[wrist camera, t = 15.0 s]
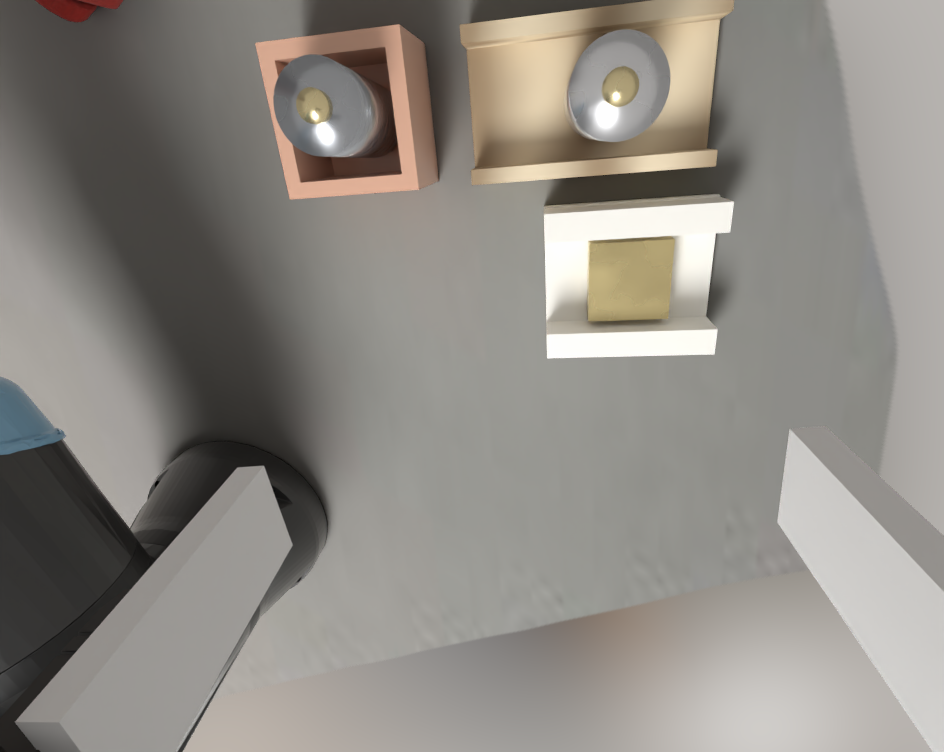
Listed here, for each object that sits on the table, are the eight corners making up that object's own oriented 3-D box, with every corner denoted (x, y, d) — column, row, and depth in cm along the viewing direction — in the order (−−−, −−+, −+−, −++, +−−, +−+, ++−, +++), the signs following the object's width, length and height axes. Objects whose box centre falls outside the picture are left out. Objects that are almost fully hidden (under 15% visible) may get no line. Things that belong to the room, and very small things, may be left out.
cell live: (563, 143, 29) (570, 146, 21) (562, 62, 27) (568, 34, 20) (636, 136, 28) (670, 136, 21) (639, 52, 27) (677, 19, 19)
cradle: (547, 342, 35) (547, 359, 32) (544, 205, 31) (543, 212, 28) (700, 337, 33) (714, 355, 31) (717, 193, 30) (734, 199, 27)
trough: (477, 181, 31) (472, 185, 29) (466, 33, 28) (459, 24, 25) (702, 163, 29) (715, 166, 27) (718, 2, 26) (735, -11, 23)
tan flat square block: (586, 315, 33) (588, 321, 32) (587, 240, 31) (589, 244, 30) (664, 312, 32) (668, 318, 31) (670, 235, 30) (674, 239, 29)
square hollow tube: (328, 189, 32) (289, 199, 27) (303, 58, 29) (255, 43, 24) (438, 180, 31) (418, 189, 26) (424, 43, 28) (399, 24, 23)
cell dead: (333, 149, 30) (264, 145, 23) (340, 74, 29) (269, 41, 21) (397, 165, 30) (351, 165, 23) (408, 90, 29) (362, 63, 21)
